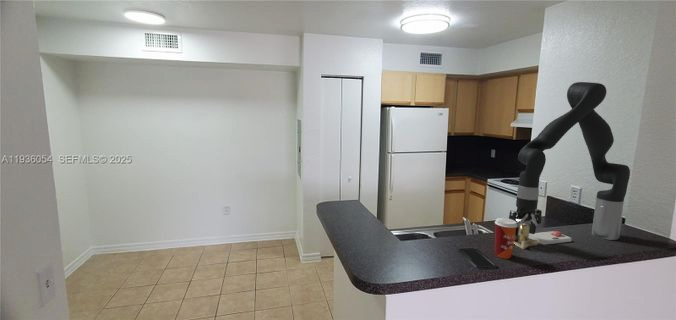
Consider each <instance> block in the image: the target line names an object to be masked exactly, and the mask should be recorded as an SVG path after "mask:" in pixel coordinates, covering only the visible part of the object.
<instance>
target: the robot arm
mask: <svg viewBox="0 0 676 320" xmlns="http://www.w3.org/2000/svg"><path fill="white" fill-rule="evenodd" d="M606 96H607V88H606V86H605V85H604V84H602V83H600V82H590V81H577V82H574V83H572V84H571V85H569V86H568V89H567V92H566V98H567V102H568V104H569V107H570V108H571V109H570V110H569V111H567V112H565V113H564V114H562V115H561V116H558V117H557V118H555V119H554V120H552V121H550V122H549V123H548V124H547V125H546V126H544V128H543V129H542V130H541V132H539V133H538V135H537V136H536V137H535V138H533V139H532V140H530V141H529V142H528V143H527V144H526V145H524V146H523V147H522V148H521V149H520V150H519V152H518V155H517V160H518V161H519V162H520V163H521V164H523V165H526V167H525V170H523V171H521V172H520V174H519V179H518V187H517V192H516V200H515V206H516V210H510V211H509V216H508V219H512V220H514V221H516V223H517V227H516V233H515V236H518V234H519V227H520V224H521V223H524V222H529V225H530V229H529V234H535V233H536V231H537V230H536V229H537V226H538V225H541V224H542V211H543V210H542V209H538V203H539V193H540V192H539V191H540V190H539V186H540V177H541V175H542V172H543V170H544V168H545V165H546V161H547V159H546V154H545V152H544V151H546V150H551V149H553V148H554V147H555V146H556V145H557V144H558V142H559V141H560V140H561V139H562V138H563V137H564V136H565V135H566V134H567V133H568V132H569V130H571V128H573V127H574V126H575V125H577V124H578V125H579V128H580V131H581V132H582V133H581V134H582V136H583V140H584V143H585V145H586V147H587V151H588V153H589V156H590V160H591V164H592V170H593V175H594V177H595V179H596V181H597V182H599V183H602V184H609V185H612V187H611V188H610V189H605V190H604V189H603V190H598V191H597V193H596V198H595V206H594V212H593V220H592V228H591V235H592V236H595V237H598V238H601V239H603V240H608V241H609V240H610V241H617V240H619V239H620V236H621V230H622V223H623V216H622V215H623V210H624V209H623V208H624V202H625V197H626V195H627V191H628V185H629V181H630V178H631V177H630V176H631V169H630V167H629V166H628V165H626V164H623V163H622V164H620V163H613V162H608V161H607V159H606V156H607V153H608V152H609V151H610V150H611V148H612V146H613V145H614V142H615V139H614V134H613V132H612V129H611V126H610V125H609V123H608V122H607V121H606V120H605V119H604V118H603V117H602V116H601V115H600V114H599V113H598V112H596V110H595V109H596V108H597V107H599V105H601V103H603V101H604V100H605V98H606Z"/></svg>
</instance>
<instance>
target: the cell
mask: <svg viewBox="0 0 676 320" xmlns="http://www.w3.org/2000/svg"><path fill="white" fill-rule="evenodd" d="M529 229H530V223H529V224H528V223H525V222H523V223H521V224H520V225H519V229H518V234H519V237H518V240H517V242H518V243H520V244H521V243H522V241H526V240H529V239H530V238H529V234H530V233H529Z"/></svg>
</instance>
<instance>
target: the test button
mask: <svg viewBox="0 0 676 320" xmlns="http://www.w3.org/2000/svg"><path fill="white" fill-rule="evenodd" d="M562 234H563V232H562V231H559V230H553V235H554V236H556V237H561V236H562Z"/></svg>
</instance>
